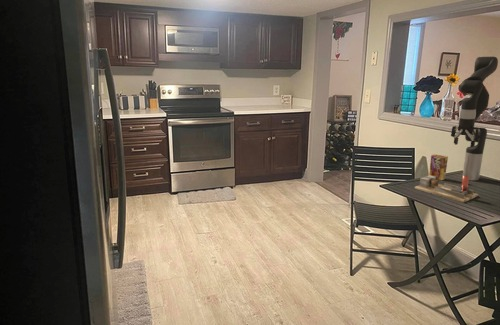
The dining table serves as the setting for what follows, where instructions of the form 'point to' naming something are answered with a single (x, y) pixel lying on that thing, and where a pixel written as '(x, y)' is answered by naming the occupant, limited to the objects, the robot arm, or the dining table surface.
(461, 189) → the plate with copper rod
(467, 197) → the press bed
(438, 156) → the candy box
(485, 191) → the dining table surface
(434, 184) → the nut
